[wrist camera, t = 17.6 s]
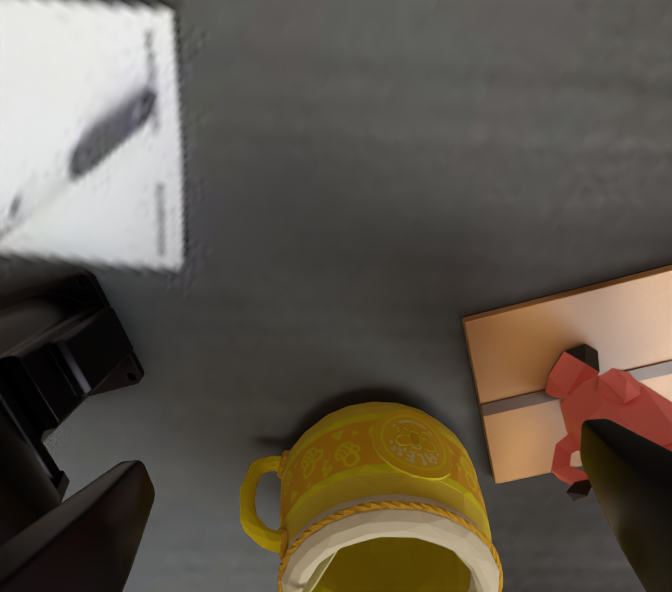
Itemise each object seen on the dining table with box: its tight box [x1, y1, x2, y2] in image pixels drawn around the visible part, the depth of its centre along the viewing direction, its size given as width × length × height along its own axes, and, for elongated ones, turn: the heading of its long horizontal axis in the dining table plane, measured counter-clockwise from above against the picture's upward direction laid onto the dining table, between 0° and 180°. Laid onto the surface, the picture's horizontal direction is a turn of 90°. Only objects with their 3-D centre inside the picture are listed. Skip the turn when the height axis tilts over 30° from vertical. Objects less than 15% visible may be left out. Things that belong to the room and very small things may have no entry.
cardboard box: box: [462, 265, 672, 484], centre depth 22 cm, size 11×11×1 cm
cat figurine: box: [545, 344, 672, 501], centre depth 16 cm, size 7×7×12 cm
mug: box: [240, 402, 503, 592], centre depth 19 cm, size 13×11×12 cm
